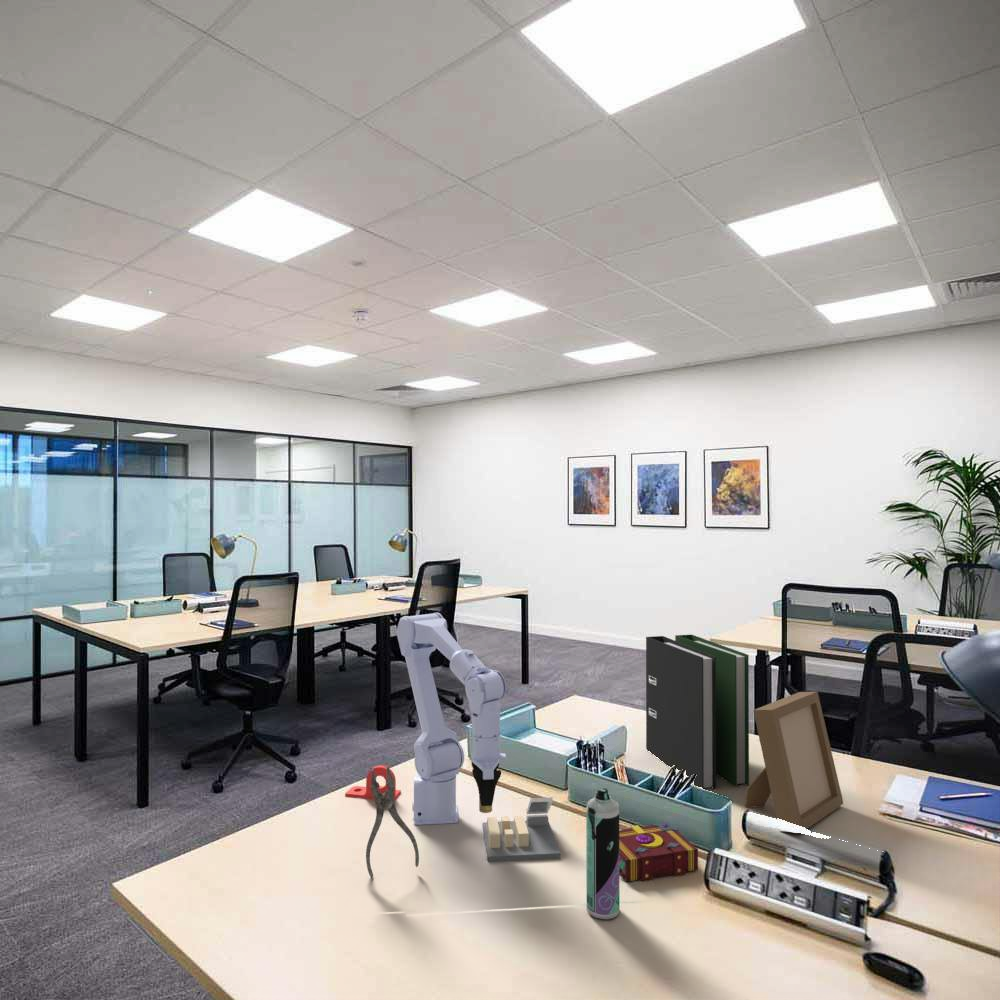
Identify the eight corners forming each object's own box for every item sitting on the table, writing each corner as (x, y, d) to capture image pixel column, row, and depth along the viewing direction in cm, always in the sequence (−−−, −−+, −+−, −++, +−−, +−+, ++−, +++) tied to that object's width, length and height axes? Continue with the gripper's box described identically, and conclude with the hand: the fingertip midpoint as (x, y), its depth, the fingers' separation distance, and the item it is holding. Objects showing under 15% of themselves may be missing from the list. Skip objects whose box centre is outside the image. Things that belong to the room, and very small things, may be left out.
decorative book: (699, 873, 124) (699, 845, 124) (620, 886, 120) (620, 858, 120) (668, 843, 135) (668, 818, 135) (594, 855, 131) (594, 829, 131)
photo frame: (843, 807, 151) (842, 696, 151) (799, 839, 137) (798, 716, 137) (779, 787, 162) (779, 683, 163) (732, 814, 148) (732, 700, 148)
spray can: (611, 923, 109) (611, 799, 109) (581, 912, 112) (581, 791, 112) (624, 906, 113) (624, 787, 114) (594, 896, 116) (594, 780, 117)
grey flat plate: (531, 802, 135) (530, 797, 136) (526, 814, 141) (526, 809, 142) (552, 801, 136) (552, 796, 136) (547, 814, 142) (546, 809, 143)
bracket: (400, 795, 158) (400, 761, 158) (393, 803, 154) (393, 768, 154) (353, 790, 161) (353, 757, 161) (345, 798, 156) (345, 764, 156)
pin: (479, 813, 133) (479, 782, 133) (478, 807, 135) (478, 777, 135) (492, 812, 133) (492, 782, 133) (491, 806, 135) (491, 777, 136)
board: (487, 861, 128) (487, 843, 128) (482, 827, 142) (482, 810, 142) (560, 858, 129) (560, 839, 129) (547, 824, 143) (547, 807, 143)
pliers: (417, 874, 124) (424, 765, 125) (418, 876, 123) (424, 767, 124) (364, 876, 122) (371, 766, 123) (364, 879, 122) (371, 767, 122)
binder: (751, 787, 162) (751, 654, 163) (697, 793, 159) (696, 658, 159) (692, 748, 189) (691, 634, 189) (644, 753, 185) (643, 636, 185)
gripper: (509, 745, 127) (509, 817, 127) (502, 721, 142) (502, 786, 142) (472, 746, 127) (472, 818, 127) (469, 722, 141) (469, 787, 141)
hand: (486, 801), depth 134 cm, fingers closed on pin, 3 cm apart
